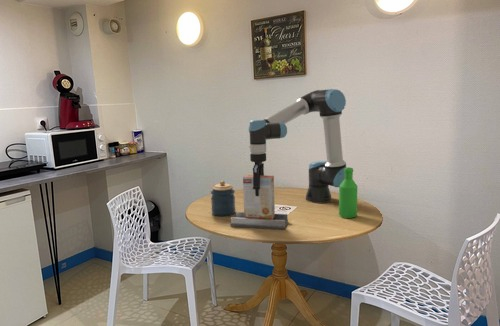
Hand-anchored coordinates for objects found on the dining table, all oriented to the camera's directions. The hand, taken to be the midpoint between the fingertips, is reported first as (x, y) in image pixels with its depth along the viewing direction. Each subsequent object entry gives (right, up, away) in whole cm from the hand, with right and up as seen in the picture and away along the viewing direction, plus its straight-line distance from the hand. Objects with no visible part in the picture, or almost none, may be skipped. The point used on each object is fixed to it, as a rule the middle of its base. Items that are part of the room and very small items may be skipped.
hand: (259, 200), depth 166 cm
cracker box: (0, -9, +2) cm, 9 cm away
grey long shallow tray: (0, -12, +2) cm, 12 cm away
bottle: (+46, -9, +10) cm, 48 cm away
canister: (-19, -9, +21) cm, 30 cm away
